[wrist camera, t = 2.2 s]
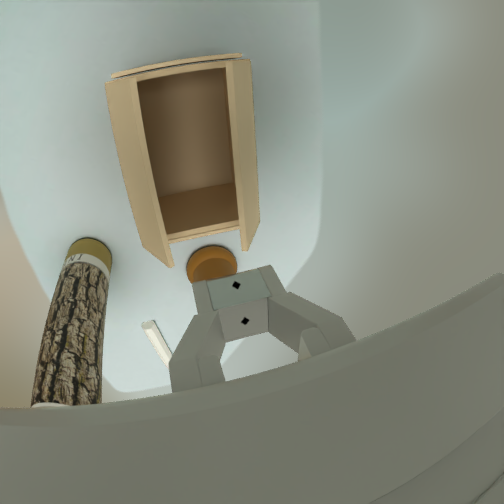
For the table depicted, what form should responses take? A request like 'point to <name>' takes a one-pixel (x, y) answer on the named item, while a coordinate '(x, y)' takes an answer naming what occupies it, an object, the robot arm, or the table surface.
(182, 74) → the carton
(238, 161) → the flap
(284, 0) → the table surface
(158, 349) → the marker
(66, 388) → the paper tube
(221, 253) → the ornamental finial
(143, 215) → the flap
